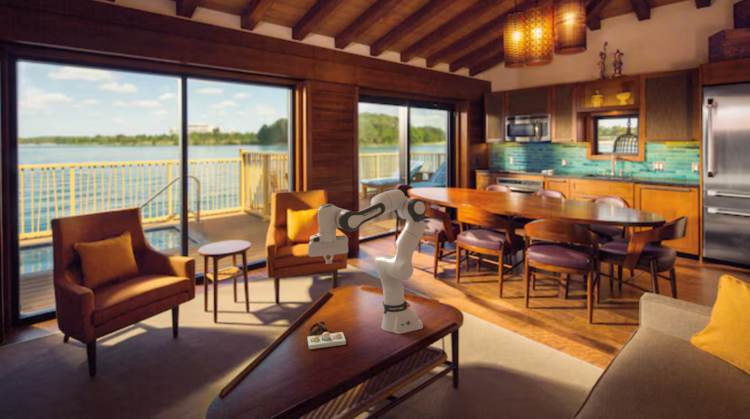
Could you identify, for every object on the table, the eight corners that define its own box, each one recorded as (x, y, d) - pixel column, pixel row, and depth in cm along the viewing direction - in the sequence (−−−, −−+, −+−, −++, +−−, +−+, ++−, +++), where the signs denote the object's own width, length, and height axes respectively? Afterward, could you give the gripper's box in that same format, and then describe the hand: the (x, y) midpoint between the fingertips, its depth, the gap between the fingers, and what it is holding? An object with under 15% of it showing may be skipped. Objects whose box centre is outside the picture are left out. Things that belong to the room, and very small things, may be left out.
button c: (318, 341, 210) (318, 335, 209) (319, 344, 206) (319, 338, 206) (311, 342, 209) (311, 336, 208) (312, 345, 205) (311, 339, 205)
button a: (340, 338, 212) (340, 332, 212) (341, 341, 209) (341, 335, 208) (333, 339, 211) (333, 333, 211) (334, 342, 208) (334, 336, 207)
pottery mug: (329, 341, 213) (320, 329, 211) (313, 347, 216) (305, 336, 213) (332, 325, 224) (324, 314, 222) (317, 332, 227) (309, 321, 224)
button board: (342, 337, 216) (342, 332, 215) (346, 346, 206) (345, 340, 206) (307, 342, 212) (307, 336, 211) (309, 351, 202) (308, 345, 202)
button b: (329, 337, 211) (329, 331, 210) (330, 340, 207) (330, 334, 207) (322, 338, 210) (322, 332, 209) (323, 341, 206) (322, 335, 206)
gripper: (346, 233, 215) (348, 259, 217) (306, 237, 210) (308, 263, 212) (349, 235, 209) (350, 262, 211) (307, 239, 204) (309, 267, 206)
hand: (328, 263), depth 212 cm, fingers closed
